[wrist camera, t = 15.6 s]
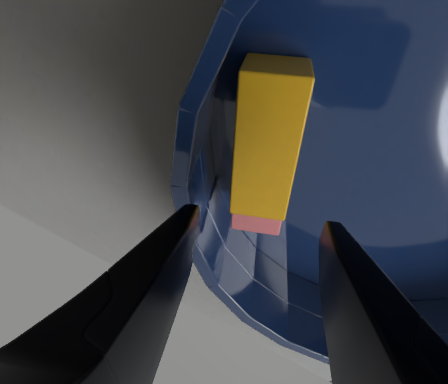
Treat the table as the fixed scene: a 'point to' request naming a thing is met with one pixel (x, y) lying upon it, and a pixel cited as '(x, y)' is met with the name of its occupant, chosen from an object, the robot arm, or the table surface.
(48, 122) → the table surface
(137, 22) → the table surface
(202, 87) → the bowl
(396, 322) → the robot arm
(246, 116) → the pencil
